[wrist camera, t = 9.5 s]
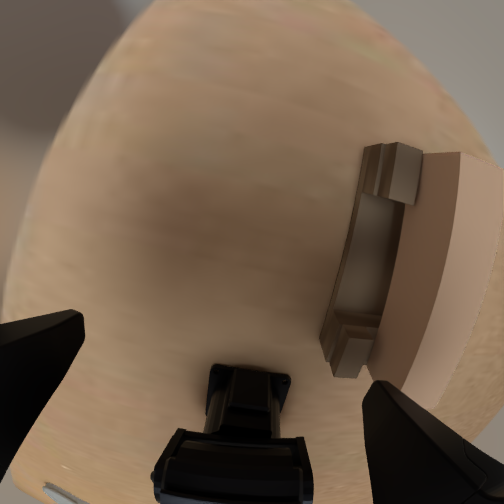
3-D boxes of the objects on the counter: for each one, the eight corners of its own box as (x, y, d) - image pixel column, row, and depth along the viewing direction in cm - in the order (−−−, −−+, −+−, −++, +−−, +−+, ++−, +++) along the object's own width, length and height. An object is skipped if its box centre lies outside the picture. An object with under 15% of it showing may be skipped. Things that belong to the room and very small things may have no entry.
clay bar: (407, 363, 17) (434, 407, 13) (366, 365, 18) (388, 415, 13) (454, 167, 14) (507, 170, 9) (410, 154, 14) (460, 151, 9)
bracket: (415, 346, 20) (438, 377, 16) (319, 338, 20) (330, 376, 16) (464, 182, 17) (503, 187, 12) (364, 147, 17) (393, 140, 12)
